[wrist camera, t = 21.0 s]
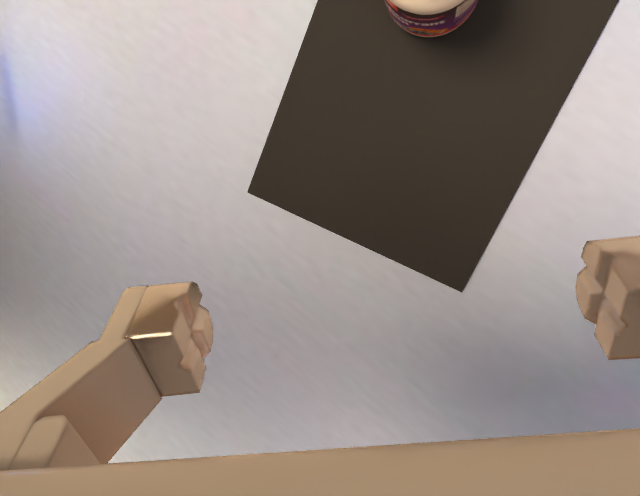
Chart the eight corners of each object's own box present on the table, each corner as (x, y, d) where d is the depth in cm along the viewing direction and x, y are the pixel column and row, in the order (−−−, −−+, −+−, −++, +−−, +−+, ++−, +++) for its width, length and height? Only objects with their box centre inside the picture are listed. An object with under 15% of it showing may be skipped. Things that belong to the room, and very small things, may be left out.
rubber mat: (461, 291, 33) (461, 292, 32) (248, 191, 34) (247, 192, 34) (634, -31, 27) (636, -33, 27) (367, -130, 29) (366, -133, 28)
